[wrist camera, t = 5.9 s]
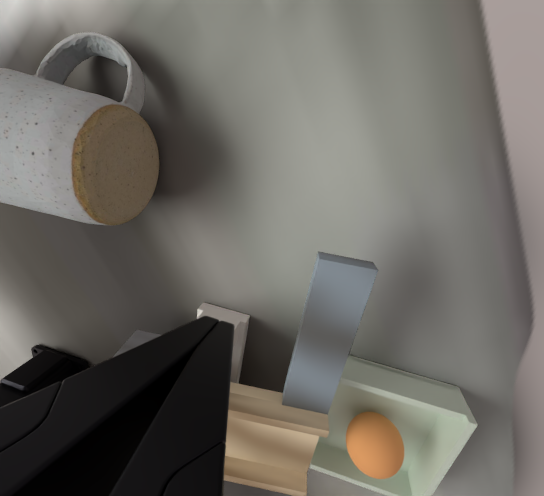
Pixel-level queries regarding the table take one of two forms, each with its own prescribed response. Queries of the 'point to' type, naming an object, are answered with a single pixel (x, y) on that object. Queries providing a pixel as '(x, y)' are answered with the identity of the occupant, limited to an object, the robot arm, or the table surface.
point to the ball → (375, 445)
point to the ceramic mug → (76, 139)
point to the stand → (239, 332)
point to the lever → (295, 383)
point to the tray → (397, 426)
